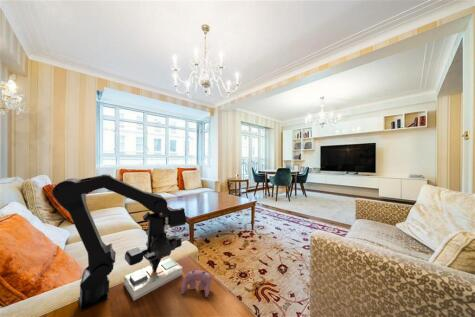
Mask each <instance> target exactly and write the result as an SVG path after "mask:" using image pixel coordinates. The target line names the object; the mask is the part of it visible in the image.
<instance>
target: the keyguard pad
mask: <svg viewBox="0 0 475 317" xmlns="http://www.w3.org/2000/svg"><path fill="white" fill-rule="evenodd" d="M170 260H172V261H173V262H174V263H175V264H176V266H174V267H172V268H170V269H168V270H165V269H164V268H163V267H162V266H161V264H163V263H165V262H167V261H170ZM158 266H159V267H160V268H161V269H162V270H163V272H162V273H160V274H157V275H155V276H153V277H150V276H149V275H148V274H147V273H146V272H147V270H149V269H152V267H151V265H147V266H144V267H142V268H139V269H137V270H136V271H132V272H130V273H128V274H126V275H124V277H123V285H124V287H125V288H126V290H127V291H128V293H129V295H130V297H131V298H132V300H133V301H136V300H137V299H140V298H141V297H143V296H146V295H147V294H149V293H151V292H152V291H154V290H157V289H159V287H160V288H161V287H162V286H164V285H166V284H167V283H169V282H171V281H173V280H175V279H177V278H178V277H181V276H182V274H183V266H181V265H180V264H179V263H178V262H177V261H175V259H173V258H172V257H171V256H167V257H166V258H165V257H164V258H162V259H161V261H160V263H159V265H158ZM141 270H144V272H145V273H146V274H147V275H148V278H147V280H145V281H143V282H141V283H139V284H137V285H135V286H133V284H132V283H131V281H130V275H132V274H134V273H137V272H139V271H141Z"/></svg>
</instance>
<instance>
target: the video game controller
mask: <svg viewBox="0 0 475 317" xmlns="http://www.w3.org/2000/svg"><path fill="white" fill-rule="evenodd" d="M197 281H198V282H199V281H200V282H199V283H198V286H197ZM211 284H212V275H211V274H210V273H208V272H207V271H204V270H202V269H201V270H200V269H198V270H197V269H196V270H190V271H189V272H187V273H186V274H185V276H184V279H183V282H182V284H181V285H182V286H181V289H180V293H181V295H183V294H185V292H186V290H187V289H188V286H189V289H191V290H194V289H195V288H196V287H197V288H198V290H199V291H202V290H204V297H206V298H208V296H209V295H210V289H211Z"/></svg>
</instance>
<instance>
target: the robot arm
mask: <svg viewBox="0 0 475 317" xmlns="http://www.w3.org/2000/svg"><path fill="white" fill-rule="evenodd" d="M101 189H106V190H108V191H111V192H113V193H115V194H118V195H121V196H123V197H125V198H127V199H130V200H132V201H135V202H137V203H139V204H140V205H142V206H143V207H144V208H146V209H147V210H149V211H147V212H146V213H145V214H144V215H142V219H143V221H148V224H147V226H148V227H147V231H146V235H147V241H146V242H145V246H146V248H143V249H140V248H139V247H138V246H137V247H134V248H131V249H128V250H126V251H125V254H124V261H126V262H127V264H128V266H134V265H136V264H139V263H141V262H142V261H143V260H144V258H145V259H146V260H147V261H148V262H149V264H150V265H151V267H152V270H153V271H154V272H155V271H156V270H157V268H158V265H159V263H160V261H161V260H163V259H164V258H165V257H166V258H167V257H170V256H171V253H172V251H174V250H176V249H177V248H180V247H182V244H183V243H182V238H180V237H179V236H177V235H175V234H173V235H170V236H168V237H167V232H166V230H165V229H166V228H165V227H166V226H168V227H169V228H176V227H180V226H185V225H186V223H187V217H186V212H185V208H184V207H179V208H174V209H171V208H170V207H169V206H168V202H167V201H168V200H167V199H166V198H164V197H163V196H162V195H161V194H157V193H154V192H148V191H145V190H142V189H140V188H138V187H135V186H133V185H131V184H129V183H127V182H125V181H123V180H119V179H117V178H116V177H114V176H112V175H110V174H106V173H104V174H101V175H97V176H91V177H85V178H82V179H79V178H75V177H74V178H73V177H72V178H67V179H65V180H63V181H61V182H58V183H57V184H56V185H55V186H54V187H53V189H52V190H51V193H52V194H51V195H52V196H53V198H54V199H55V201H56V202H57V203H58V204H59V205H60V206H61V207H62V208H63V209H64V210H65V211H67V213H68V214H69V215H70V218H71V219H72V220H71V221H72V222H73V225H74V227H75V229H76V232H77V233H78V235H79V237H80V239H81V242H82V245H83V246H84V248H85V250H86V252H87V253H86V254H87V261H88V265H87V266H86V267H85V269H84V271H83V274H82V277H81V281H80V284H79V288H80V289H79V297H78V303H79V306H80V311H81V312H83V311H85V310H88V309H90V308H92V307H94V306H96V305H98V304H100V303H102V302H104V301H106V300H108V299H109V292H110V279H109V277H108V276H109V275H111V273H112V272H113V270H114V265H115V264H114V263H116V255H117V254H116V251H115V250H114V248H113V243H111V242H110V243H109V244H105V242H104V241H103V239H102V237H101V235H100V232H99V230H98V228H97V226H96V223H95V221H94V218H93V216H92V214H91V212H90V209H89V207H88V205H87V204H88V203H87V194H88V193H90V192H94V191H96V190H97V191H98V190H101Z"/></svg>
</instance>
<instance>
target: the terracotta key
mask: <svg viewBox="0 0 475 317" xmlns="http://www.w3.org/2000/svg"><path fill="white" fill-rule="evenodd" d="M162 272H163V270H162V269H161V268H160V267H159V266H158V268H157V270H156V271H155V272H154V271H153V270H152V269H149V270H147V272H146V273H147V274H148V275H149V276H150V277H153V276H155V275H157V274H160V273H162Z"/></svg>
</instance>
